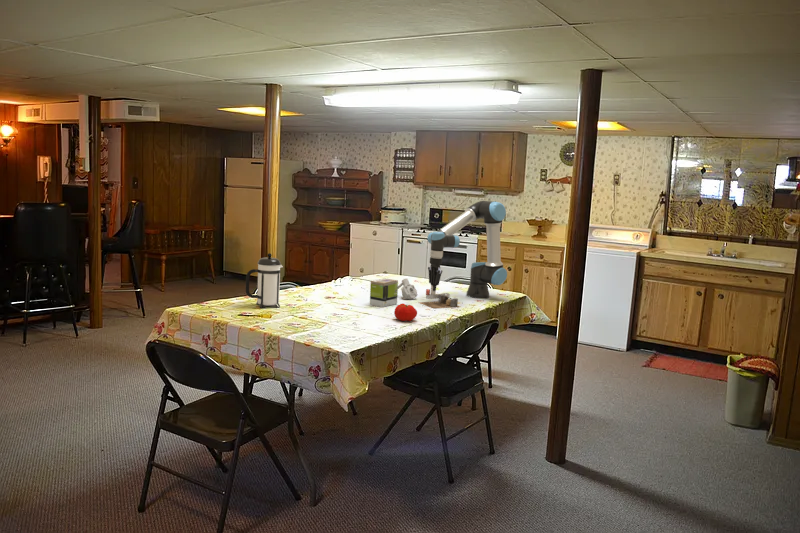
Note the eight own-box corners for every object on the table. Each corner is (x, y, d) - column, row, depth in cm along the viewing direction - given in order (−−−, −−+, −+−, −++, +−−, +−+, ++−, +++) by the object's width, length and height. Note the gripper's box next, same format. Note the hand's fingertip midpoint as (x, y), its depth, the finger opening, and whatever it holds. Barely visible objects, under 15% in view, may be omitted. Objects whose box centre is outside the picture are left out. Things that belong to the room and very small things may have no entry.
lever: (446, 301, 389) (447, 287, 388) (451, 302, 384) (452, 289, 383) (423, 302, 380) (424, 288, 379) (428, 304, 376) (429, 290, 374)
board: (444, 302, 394) (445, 294, 393) (461, 308, 378) (462, 299, 377) (417, 304, 384) (418, 295, 383) (433, 310, 368) (434, 301, 367)
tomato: (419, 322, 335) (420, 307, 334) (397, 323, 332) (398, 307, 330) (412, 317, 347) (413, 302, 346) (390, 317, 344) (391, 302, 342)
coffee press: (264, 302, 364) (265, 250, 360) (286, 305, 357) (288, 253, 353) (244, 306, 348) (245, 253, 344) (267, 310, 342) (269, 256, 337)
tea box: (384, 301, 386) (385, 277, 384) (397, 304, 381) (398, 280, 379) (369, 304, 374) (370, 280, 372) (382, 307, 369) (383, 282, 367)
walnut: (449, 304, 382) (450, 298, 382) (453, 306, 379) (454, 299, 378) (444, 305, 380) (444, 298, 380) (448, 306, 377) (448, 299, 376)
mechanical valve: (408, 296, 391) (400, 276, 397) (392, 310, 402) (384, 290, 408) (420, 296, 398) (412, 276, 404) (403, 310, 409) (396, 290, 415)
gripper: (425, 255, 382) (422, 293, 386) (436, 259, 371) (433, 298, 375) (435, 255, 386) (432, 293, 389) (447, 259, 375) (443, 297, 378)
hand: (432, 295), depth 382 cm, fingers closed
